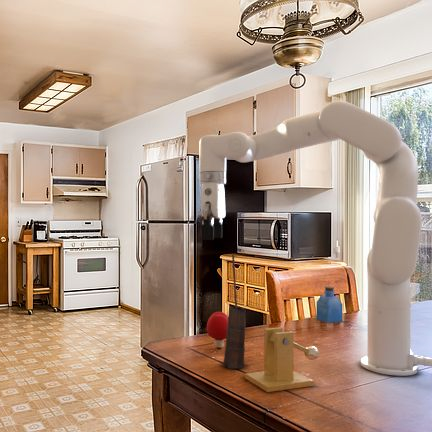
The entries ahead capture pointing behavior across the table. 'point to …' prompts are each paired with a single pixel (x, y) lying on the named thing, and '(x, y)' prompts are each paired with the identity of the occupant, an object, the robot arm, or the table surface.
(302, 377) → the bracket
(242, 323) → the butter churn
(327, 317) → the perfume bottle
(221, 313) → the red rounded lump
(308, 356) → the switch lever
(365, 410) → the table surface
